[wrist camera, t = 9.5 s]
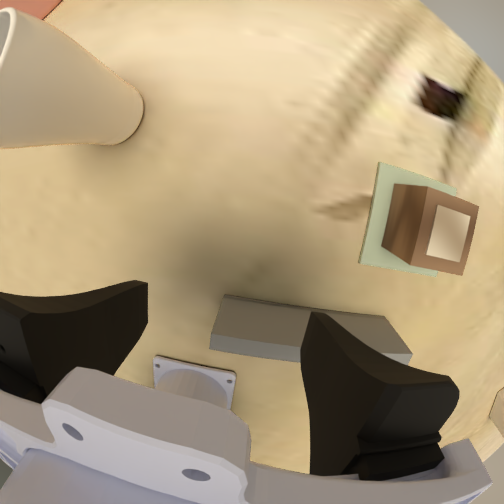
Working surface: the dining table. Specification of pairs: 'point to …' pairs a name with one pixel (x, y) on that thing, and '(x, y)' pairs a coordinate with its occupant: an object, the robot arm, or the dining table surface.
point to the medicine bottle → (498, 412)
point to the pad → (379, 214)
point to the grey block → (293, 330)
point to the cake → (31, 6)
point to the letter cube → (429, 228)
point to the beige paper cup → (58, 89)
